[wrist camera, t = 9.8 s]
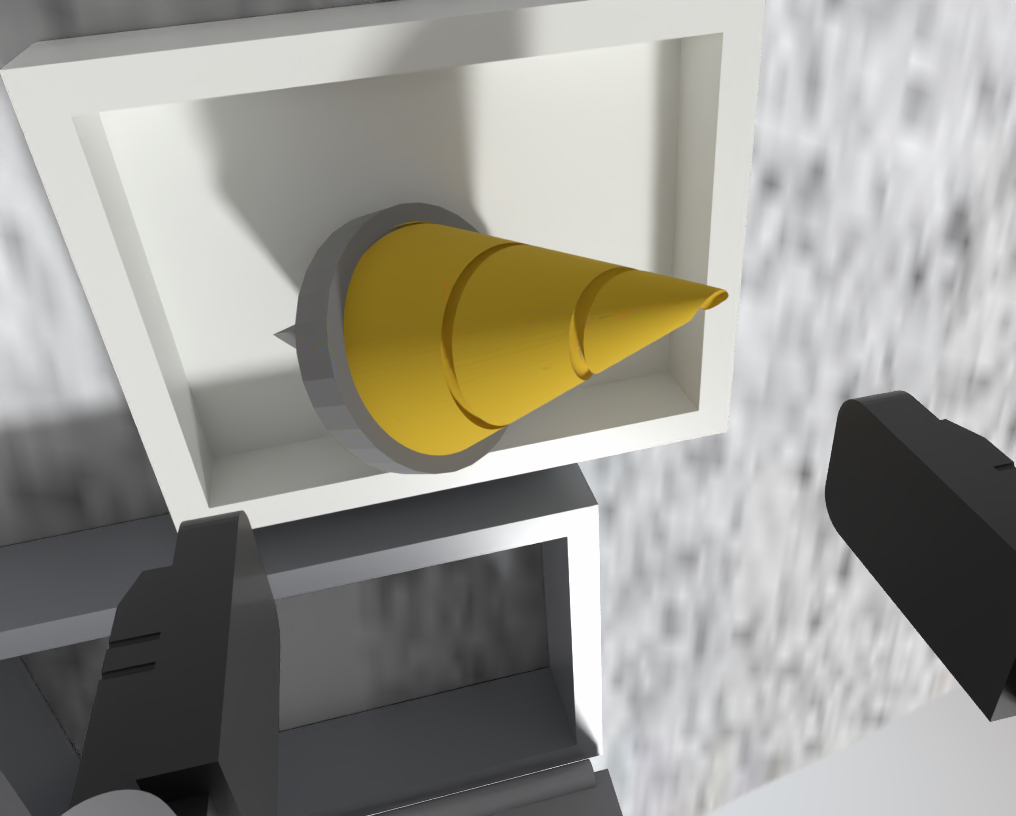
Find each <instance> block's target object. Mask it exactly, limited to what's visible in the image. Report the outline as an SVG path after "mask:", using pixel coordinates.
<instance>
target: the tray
mask: <svg viewBox="0 0 1016 816" xmlns="http://www.w3.org/2000/svg"><path fill="white" fill-rule="evenodd" d="M765 6H766V0H397V1H388V2H380V3H371V4H362V5H353V6H345V7H336V8H327V9H318V10H310V11H301V12H292V13H284V14H275V15H266V16H257V17H249V18H240V19H231V20H223V21H214V22H205V23H196V24H188V25H179V26H170V27H161V28H153V29H144V30H135V31H127V32H118V33H109V34H100V35H92V36H83V37H74V38H66V39H57V40H48V41H39V42H34V43H33V44H32V45H31V46H29V47H28V48H27V49H25V50H24V51H23V52H22V53H20V54H19V55H18V56H17V57H15V58H14V59H13V60H12V61H10V62H9V63H8V64H6V65H5V66H4V67H3V68H1V69H0V74H1V77H2V80H3V82H4V85H5V87H6V90H7V93H8V95H9V98H10V100H11V103H12V105H13V108H14V111H15V113H16V116H17V118H18V121H19V124H20V126H21V129H22V131H23V134H24V137H25V139H26V142H27V144H28V147H29V149H30V152H31V155H32V157H33V160H34V162H35V165H36V168H37V170H38V173H39V175H40V178H41V181H42V183H43V186H44V188H45V191H46V193H47V196H48V199H49V201H50V204H51V206H52V209H53V212H54V214H55V217H56V219H57V222H58V225H59V227H60V230H61V232H62V235H63V237H64V240H65V243H66V245H67V248H68V250H69V253H70V256H71V258H72V261H73V263H74V266H75V269H76V271H77V274H78V276H79V279H80V281H81V284H82V287H83V289H84V292H85V294H86V297H87V300H88V302H89V305H90V307H91V310H92V313H93V315H94V318H95V320H96V323H97V325H98V328H99V331H100V333H101V336H102V338H103V341H104V344H105V346H106V349H107V351H108V354H109V357H110V359H111V362H112V364H113V367H114V369H115V372H116V375H117V377H118V380H119V382H120V385H121V388H122V390H123V393H124V395H125V398H126V401H127V403H128V406H129V408H130V411H131V413H132V416H133V419H134V421H135V424H136V426H137V429H138V432H139V434H140V437H141V439H142V442H143V445H144V447H145V450H146V452H147V455H148V457H149V460H150V463H151V465H152V468H153V470H154V473H155V476H156V478H157V481H158V483H159V486H160V489H161V491H162V494H163V496H164V499H165V501H166V504H167V507H168V509H169V512H170V514H171V517H172V520H173V522H174V525H175V527H176V530H177V533H178V530H179V526H180V524H181V522H183V521H187V520H192V519H197V518H203V517H208V516H214V515H219V514H224V513H230V512H235V511H241V510H243V511H244V512H245V513H246V515H247V516H248V519H249V521H250V524H251V527H252V529H254V528H259V527H264V526H269V525H274V524H279V523H284V522H289V521H294V520H298V519H303V518H308V517H313V516H318V515H323V514H328V513H333V512H337V511H342V510H347V509H352V508H357V507H362V506H367V505H372V504H377V503H381V502H386V501H391V500H396V499H401V498H406V497H411V496H416V495H421V494H425V493H430V492H435V491H440V490H445V489H450V488H455V487H460V486H465V485H469V484H474V483H479V482H484V481H489V480H494V479H499V478H504V477H508V476H513V475H518V474H523V473H528V472H533V471H538V470H543V469H548V468H552V467H557V466H562V465H567V464H572V463H577V462H582V461H587V460H592V459H596V458H601V457H606V456H611V455H616V454H621V453H626V452H631V451H635V450H640V449H645V448H650V447H655V446H660V445H665V444H670V443H675V442H679V441H684V440H689V439H694V438H699V437H704V436H709V435H714V434H719V433H723V432H728V423H729V412H730V400H731V389H732V378H733V367H734V355H735V344H736V333H737V321H738V310H739V299H740V288H741V276H742V265H743V254H744V243H745V231H746V220H747V209H748V198H749V186H750V175H751V164H752V153H753V141H754V130H755V119H756V108H757V96H758V85H759V74H760V63H761V51H762V40H763V29H764V17H765ZM420 202H421V203H425V204H430V205H435V206H440V207H442V208H444V209H446V210H448V211H450V212H452V213H455V214H457V215H459V216H460V217H461V218H463V219H464V220H465V221H466V222H468V223H469V224H470V225H472V226H473V227H474V228H475V229H476V230H477V231H478V232H479V233H481V234H485V235H490V236H494V237H498V238H503V239H507V240H511V241H516V242H520V243H525V244H529V245H533V246H538V247H542V248H547V249H551V250H555V251H560V252H564V253H568V254H573V255H577V256H582V257H586V258H590V259H595V260H599V261H603V262H608V263H612V264H617V265H621V266H625V267H630V268H634V269H637V270H642V271H647V272H652V273H656V274H661V275H665V276H669V277H674V278H678V279H682V280H687V281H691V282H696V283H700V284H704V285H708V286H712V287H716V288H720V289H724V290H726V291H727V293H728V295H729V296H728V298H727V299H726V300H725V301H723V302H722V303H720V304H719V305H717V306H715V307H713V308H711V309H708V310H703V309H701V308H699V310H698V311H697V312H696V314H695V315H694V317H693V318H692V319H691V320H690V321H689V322H687V323H686V324H684V325H682V326H680V327H679V328H677V329H675V330H673V331H672V332H670V333H668V334H666V335H665V336H663V337H661V338H659V339H658V340H656V341H654V342H652V343H651V344H649V345H647V346H645V347H644V348H642V349H640V350H638V351H637V352H635V353H633V354H631V355H630V356H628V357H626V358H624V359H623V360H621V361H619V362H617V363H616V364H614V365H612V366H610V367H609V368H607V369H605V370H603V371H602V372H600V373H598V374H594V373H593V375H592V376H591V377H590V378H589V379H588V380H586V381H584V382H582V383H581V384H579V385H577V386H575V387H574V388H572V389H570V390H568V391H567V392H565V393H563V394H561V395H560V396H558V397H556V398H554V399H553V400H551V401H549V402H547V403H546V404H544V405H542V406H540V407H539V408H537V409H535V410H533V411H532V412H530V413H528V414H526V415H525V416H523V417H521V418H519V419H518V420H516V421H514V422H512V423H510V424H509V425H508V427H507V429H506V431H505V432H504V434H503V436H502V437H501V439H500V440H499V441H498V442H497V443H496V445H495V446H494V447H493V448H492V449H491V450H490V451H489V453H488V454H486V455H485V456H484V457H482V458H481V459H480V460H478V461H477V462H475V463H474V464H473V465H471V466H468V467H466V468H463V469H461V470H458V471H456V472H450V473H442V474H399V473H392V472H385V471H382V470H379V469H377V468H374V467H372V466H370V465H367V464H365V463H363V462H362V461H360V460H359V459H357V458H356V457H355V456H353V455H352V454H350V453H349V452H348V451H346V450H345V449H344V448H343V447H342V446H341V445H340V444H339V443H338V442H337V441H336V439H335V438H334V437H333V436H332V435H331V434H330V433H329V432H328V431H327V429H326V427H325V426H324V424H323V423H322V421H321V419H320V418H319V416H318V415H317V413H316V411H315V410H314V408H313V406H312V403H311V401H310V398H309V396H308V393H307V391H306V389H305V386H304V384H303V381H302V376H301V372H300V367H299V363H298V358H297V354H296V349H295V348H294V347H292V346H290V345H289V344H287V343H285V342H284V341H282V340H281V339H279V338H277V337H276V336H274V335H273V334H275V333H277V332H280V331H282V330H284V329H286V328H288V327H290V326H293V325H295V320H296V311H297V303H298V296H299V293H300V289H301V286H302V283H303V280H304V276H305V273H306V270H307V269H308V267H309V265H310V263H311V261H312V259H313V258H314V256H315V254H316V252H317V250H318V249H319V248H320V247H321V245H322V244H323V243H324V242H325V241H326V240H327V239H328V237H329V236H330V235H331V234H332V233H333V232H334V231H336V230H337V229H339V228H340V227H341V226H343V225H344V224H346V223H347V222H349V221H350V220H353V219H356V218H359V217H361V216H364V215H367V214H370V213H373V212H376V211H379V210H383V209H386V208H389V207H392V206H395V205H398V204H404V203H420Z"/></svg>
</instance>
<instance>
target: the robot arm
mask: <svg viewBox="0 0 1016 816" xmlns="http://www.w3.org/2000/svg"><path fill="white" fill-rule="evenodd" d="M825 501H826V507H827V510H828V514H829V517H830V519H831V522H832V524H833V526H834V527H835V529H836V531H837V532H838V533H839V535H840V536H841V537H842V538H843V540H844V541H845V542H846V543H847V545H848V546H849V547H850V548H851V550H852V551H853V552H854V553H855V555H856V556H857V557H858V558H859V560H860V561H861V562H862V563H863V565H864V566H865V567H866V568H867V569H868V571H869V572H870V573H871V574H872V576H873V577H874V578H875V579H876V581H877V582H878V583H879V584H880V586H881V587H882V588H883V589H884V591H885V592H886V593H887V594H888V596H889V597H890V598H891V599H892V601H893V602H894V603H895V604H896V605H897V607H898V608H899V609H900V610H901V612H902V613H903V614H904V615H905V617H906V618H907V619H908V620H909V622H910V623H911V624H912V625H913V627H914V628H915V629H916V630H917V632H918V633H919V634H920V635H921V637H922V638H923V639H924V640H925V641H926V643H927V644H928V645H929V646H930V648H931V649H932V650H933V651H934V653H935V654H936V655H937V656H938V658H939V659H940V660H941V661H942V663H943V664H944V665H945V666H946V668H947V669H948V670H949V671H950V673H951V674H952V675H953V676H954V677H955V679H956V680H957V681H958V682H959V684H960V685H961V686H962V687H963V689H964V690H965V691H966V692H967V694H969V696H970V697H971V699H972V700H973V701H974V702H975V704H976V705H977V706H978V707H979V709H981V711H982V712H983V713H984V715H985V716H986V717H987V718H988V720H989V721H990V722H992V721H996V720H999V719H1003V718H1008V717H1012V716H1016V468H1015V466H1014V462H1013V461H1012V460H1011V459H1010V458H1008V457H1007V456H1006V455H1005V454H1004V453H1002V452H1001V451H1000V450H999V449H998V448H996V447H995V446H994V445H993V444H992V443H991V442H989V441H988V440H987V439H986V438H984V437H982V436H980V435H978V434H976V433H974V432H972V431H970V430H968V429H965V428H963V427H961V426H959V425H957V424H955V423H953V422H951V421H949V420H947V419H944V420H939V419H938V418H937V417H936V416H935V415H933V414H932V413H931V412H930V411H929V410H928V409H927V408H925V407H924V406H923V405H922V404H921V403H920V402H919V401H917V400H916V399H915V398H914V397H913V396H911V395H910V394H909V393H907V392H905V391H893V392H888V393H882V394H877V395H872V396H866V397H861V398H855V399H850V400H847V401H845V402H844V403H843V404H842V406H841V407H840V410H839V413H838V417H837V423H836V428H835V434H834V440H833V446H832V451H831V457H830V463H829V468H828V474H827V480H826V486H825ZM101 673H102V680H100V681H99V685H98V689H97V693H96V697H95V702H94V706H93V710H92V714H91V719H90V723H89V727H88V731H87V735H86V740H85V744H84V748H83V752H82V757H81V761H80V765H79V769H78V773H77V778H76V782H75V786H74V790H73V795H72V798H71V801H70V804H69V808H68V810H67V812H65V813H64V814H62V815H61V816H277V792H278V737H279V682H280V633H279V623H278V616H277V611H276V606H275V601H274V597H273V594H272V591H271V588H270V584H269V581H268V578H267V575H266V572H265V569H264V565H263V562H262V559H261V556H260V553H259V550H258V546H257V543H256V540H255V537H254V534H253V531H252V527H251V524H250V521H249V519H248V516H247V515H246V513H245V512H244V511H243V510H241V511H235V512H230V513H224V514H219V515H214V516H208V517H203V518H197V519H192V520H187V521H183V522H181V524H180V526H179V530H178V535H177V541H176V547H175V552H174V558H173V564H172V566H166V567H161V568H156V569H151V570H146V571H142V573H141V574H140V575H139V577H138V578H137V579H136V581H135V582H134V584H133V585H132V586H131V588H130V589H129V590H128V592H127V593H126V595H125V596H124V597H123V599H122V600H121V601H120V603H119V604H118V605H117V609H116V613H115V617H114V622H113V626H112V630H111V634H110V638H109V649H108V650H107V651H106V655H105V659H104V664H103V668H102V672H101Z"/></svg>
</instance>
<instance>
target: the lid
mask: <svg viewBox="0 0 1016 816" xmlns="http://www.w3.org/2000/svg"><path fill="white" fill-rule="evenodd" d="M371 816H623V815H622V812H621V809H620V806H619V803H618V799H617V796H616V793H615V790H614V787H613V784H612V781H611V777H610V774H609V771H608V769H605V770H601V771H597V772H594V771H593V767H592V765H591V762H590V760H589V759H586V760H582V761H578V762H575V763H571V764H567V765H563V766H559V767H555V768H552V769H548V770H544V771H540V772H536V773H532V774H529V775H525V776H521V777H517V778H513V779H509V780H505V781H502V782H498V783H494V784H490V785H486V786H482V787H479V788H475V789H471V790H467V791H463V792H459V793H456V794H452V795H448V796H444V797H440V798H436V799H433V800H429V801H425V802H421V803H417V804H413V805H410V806H406V807H402V808H398V809H394V810H390V811H387V812H383V813H379V814H375V815H371Z"/></svg>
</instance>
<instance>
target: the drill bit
mask: <svg viewBox="0 0 1016 816" xmlns="http://www.w3.org/2000/svg"><path fill="white" fill-rule="evenodd" d="M728 296H729V295H728V293H727V291H726V290H724V289H720V288H716V287H712V286H708V285H704V284H700V283H696V282H691V281H687V280H682V279H678V278H674V277H669V276H665V275H661V274H656V273H652V272H647V271H642V270H637V269H634V268H630V267H625V266H621V265H617V264H612V263H608V262H603V261H599V260H595V259H590V258H586V257H582V256H577V255H573V254H568V253H564V252H560V251H555V250H551V249H547V248H542V247H538V246H533V245H529V244H525V243H520V242H516V241H511V240H507V239H503V238H498V237H494V236H490V235H485V234H481V233H479V232H478V231H477V230H476V229H475V228H474V227H473V226H472V225H470V224H469V223H468V222H466V221H465V220H464V219H463V218H461V217H460V216H459V215H457V214H455V213H452V212H450V211H448V210H446V209H444V208H442V207H440V206H435V205H430V204H425V203H421V202H420V203H404V204H398V205H395V206H392V207H389V208H386V209H383V210H379V211H376V212H373V213H370V214H367V215H364V216H361V217H359V218H356V219H353V220H350V221H349V222H347V223H346V224H344V225H343V226H341V227H340V228H339V229H337V230H336V231H334V232H333V233H332V234H331V235H330V236H329V237H328V239H327V240H326V241H325V242H324V243H323V244H322V245H321V247H320V248H319V249H318V250H317V252H316V254H315V256H314V258H313V259H312V261H311V263H310V265H309V267H308V269H307V270H306V273H305V276H304V280H303V283H302V286H301V289H300V293H299V296H298V303H297V311H296V320H295V325H293V326H290V327H288V328H286V329H284V330H282V331H280V332H277V333H275V334H273V335H274V336H276V337H277V338H279V339H281V340H282V341H284V342H285V343H287V344H289V345H290V346H292V347H294V348H295V349H296V354H297V358H298V363H299V367H300V372H301V376H302V381H303V384H304V386H305V389H306V391H307V393H308V396H309V398H310V401H311V403H312V406H313V408H314V410H315V411H316V413H317V415H318V416H319V418H320V419H321V421H322V423H323V424H324V426H325V427H326V429H327V431H328V432H329V433H330V434H331V435H332V436H333V437H334V438H335V439H336V441H337V442H338V443H339V444H340V445H341V446H342V447H343V448H344V449H345V450H346V451H348V452H349V453H350V454H352V455H353V456H355V457H356V458H357V459H359V460H360V461H362V462H363V463H365V464H367V465H370V466H372V467H374V468H377V469H379V470H382V471H385V472H392V473H399V474H442V473H450V472H456V471H458V470H461V469H463V468H466V467H468V466H471V465H473V464H474V463H475V462H477V461H478V460H480V459H481V458H482V457H484V456H485V455H486V454H488V453H489V451H490V450H491V449H492V448H493V447H494V446H495V445H496V443H497V442H498V441H499V440H500V439H501V437H502V436H503V434H504V432H505V431H506V429H507V427H508V425H509V424H510V423H512V422H514V421H516V420H518V419H519V418H521V417H523V416H525V415H526V414H528V413H530V412H532V411H533V410H535V409H537V408H539V407H540V406H542V405H544V404H546V403H547V402H549V401H551V400H553V399H554V398H556V397H558V396H560V395H561V394H563V393H565V392H567V391H568V390H570V389H572V388H574V387H575V386H577V385H579V384H581V383H582V382H584V381H586V380H588V379H589V378H590V377H591V376H592V375H593V373H594V374H598V373H600V372H602V371H603V370H605V369H607V368H609V367H610V366H612V365H614V364H616V363H617V362H619V361H621V360H623V359H624V358H626V357H628V356H630V355H631V354H633V353H635V352H637V351H638V350H640V349H642V348H644V347H645V346H647V345H649V344H651V343H652V342H654V341H656V340H658V339H659V338H661V337H663V336H665V335H666V334H668V333H670V332H672V331H673V330H675V329H677V328H679V327H680V326H682V325H684V324H686V323H687V322H689V321H690V320H691V319H692V318H693V317H694V315H695V314H696V312H697V311H698V310H699V308H701V309H703V310H708V309H711V308H713V307H715V306H717V305H719V304H720V303H722V302H723V301H725V300H726V299H727V298H728Z"/></svg>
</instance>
